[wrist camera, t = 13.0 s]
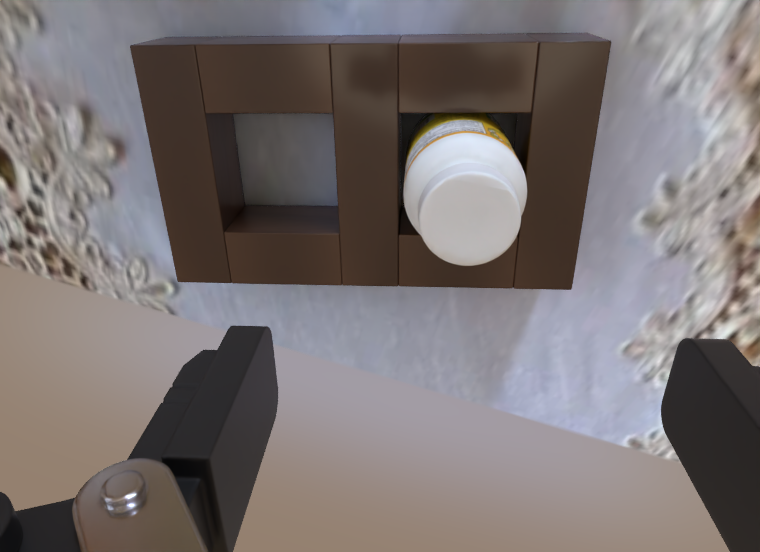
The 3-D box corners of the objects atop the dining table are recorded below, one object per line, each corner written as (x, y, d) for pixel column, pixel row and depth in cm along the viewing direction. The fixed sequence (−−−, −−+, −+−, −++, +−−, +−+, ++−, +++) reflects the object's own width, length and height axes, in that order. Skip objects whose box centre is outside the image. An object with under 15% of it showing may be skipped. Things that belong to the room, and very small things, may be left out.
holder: (202, 251, 34) (177, 282, 31) (165, 37, 29) (129, 45, 25) (555, 256, 33) (571, 290, 30) (587, 32, 28) (611, 40, 24)
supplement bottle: (400, 109, 30) (391, 161, 21) (504, 94, 29) (538, 142, 21) (413, 205, 32) (410, 287, 24) (509, 194, 32) (541, 274, 23)
